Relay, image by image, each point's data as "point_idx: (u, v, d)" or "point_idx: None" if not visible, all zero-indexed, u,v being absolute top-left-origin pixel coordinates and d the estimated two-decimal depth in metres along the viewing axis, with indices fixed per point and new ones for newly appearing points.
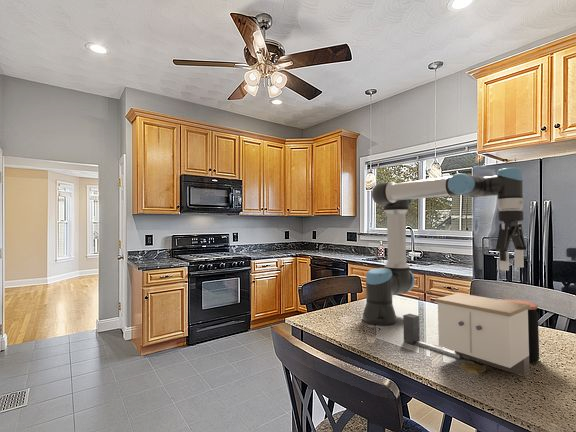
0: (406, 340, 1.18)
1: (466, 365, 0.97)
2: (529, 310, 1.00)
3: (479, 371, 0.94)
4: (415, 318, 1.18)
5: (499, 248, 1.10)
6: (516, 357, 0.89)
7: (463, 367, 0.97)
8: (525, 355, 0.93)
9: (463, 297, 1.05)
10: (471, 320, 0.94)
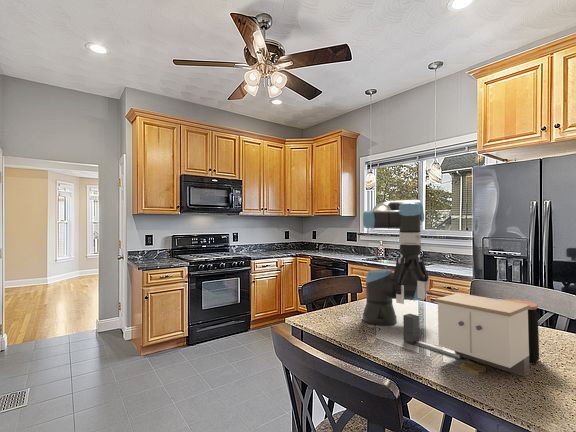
0: (406, 340, 1.19)
1: (466, 365, 0.97)
2: (529, 310, 1.00)
3: (479, 371, 0.94)
4: (415, 318, 1.18)
5: (394, 282, 1.14)
6: (516, 357, 0.89)
7: (463, 367, 0.97)
8: (525, 355, 0.93)
9: (463, 297, 1.05)
10: (471, 320, 0.94)
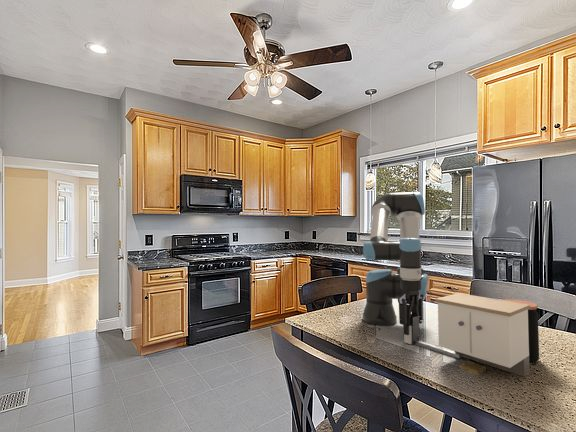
0: None
1: (466, 365, 0.97)
2: (529, 310, 1.00)
3: (479, 371, 0.94)
4: (415, 318, 1.18)
5: (402, 324, 1.16)
6: (516, 357, 0.89)
7: (463, 367, 0.97)
8: (525, 355, 0.93)
9: (463, 297, 1.05)
10: (471, 320, 0.94)
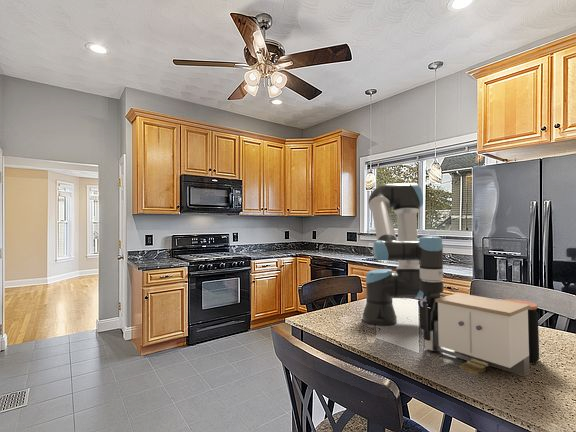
0: None
1: (466, 365, 0.97)
2: (529, 310, 1.00)
3: (479, 371, 0.94)
4: (436, 322, 1.10)
5: (423, 328, 1.08)
6: (516, 357, 0.89)
7: (463, 367, 0.97)
8: (525, 355, 0.93)
9: (463, 297, 1.05)
10: (471, 320, 0.94)
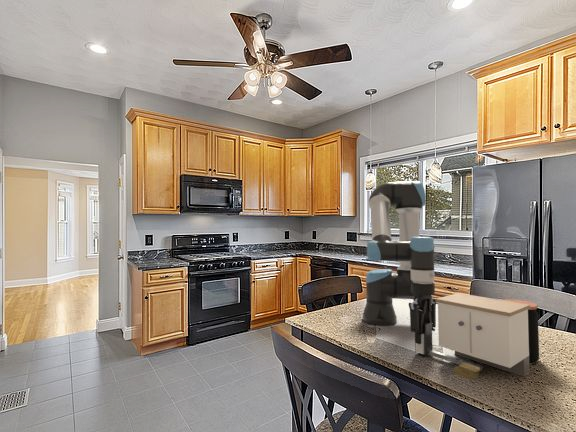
0: None
1: (459, 368, 0.94)
2: (529, 310, 1.00)
3: (473, 375, 0.91)
4: (428, 325, 1.06)
5: (413, 331, 1.05)
6: (516, 357, 0.89)
7: (456, 371, 0.93)
8: (525, 355, 0.93)
9: (463, 297, 1.05)
10: (471, 320, 0.94)
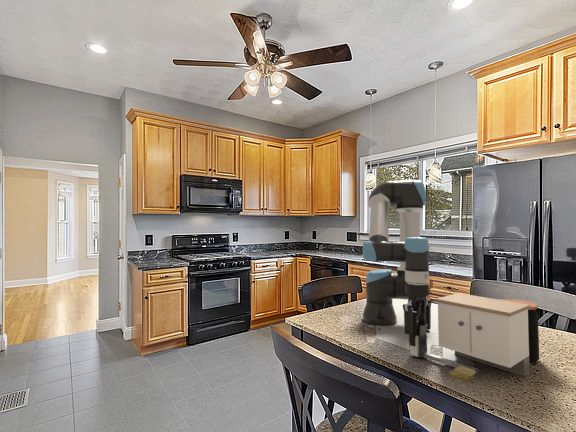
0: None
1: (454, 373, 0.92)
2: (529, 310, 1.00)
3: (468, 379, 0.89)
4: (422, 327, 1.05)
5: None
6: (516, 357, 0.89)
7: (451, 375, 0.92)
8: (525, 355, 0.93)
9: (463, 297, 1.05)
10: (471, 320, 0.94)
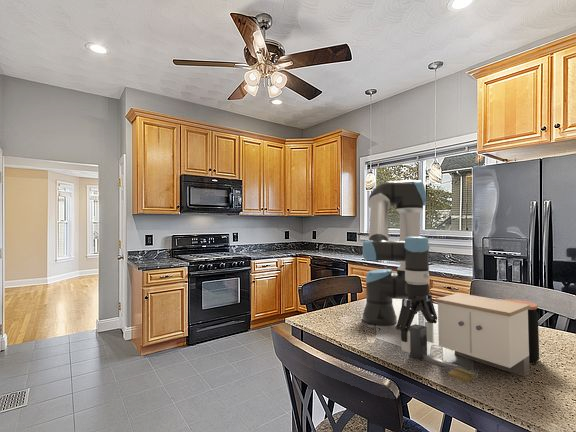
0: (413, 355, 1.05)
1: (454, 372, 0.92)
2: (529, 310, 1.00)
3: (468, 379, 0.89)
4: (422, 330, 1.04)
5: (399, 328, 1.01)
6: (516, 357, 0.89)
7: (451, 375, 0.92)
8: (525, 355, 0.93)
9: (463, 297, 1.05)
10: (471, 320, 0.94)
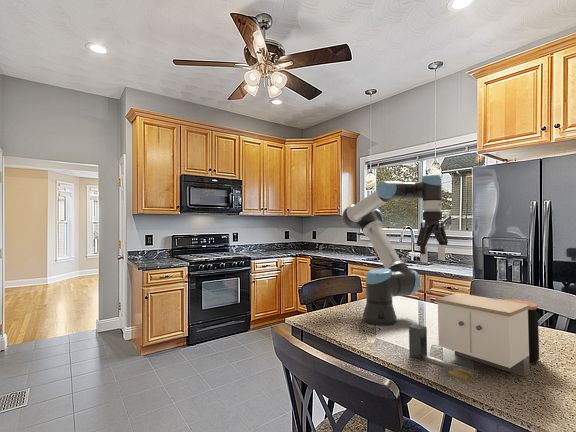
0: (413, 355, 1.05)
1: (454, 372, 0.92)
2: (529, 310, 1.00)
3: (467, 379, 0.89)
4: (422, 330, 1.04)
5: (419, 243, 1.29)
6: (516, 357, 0.89)
7: (451, 375, 0.92)
8: (525, 355, 0.93)
9: (463, 297, 1.05)
10: (471, 320, 0.94)
